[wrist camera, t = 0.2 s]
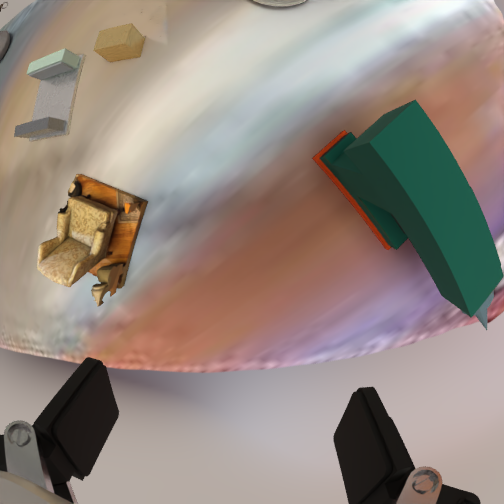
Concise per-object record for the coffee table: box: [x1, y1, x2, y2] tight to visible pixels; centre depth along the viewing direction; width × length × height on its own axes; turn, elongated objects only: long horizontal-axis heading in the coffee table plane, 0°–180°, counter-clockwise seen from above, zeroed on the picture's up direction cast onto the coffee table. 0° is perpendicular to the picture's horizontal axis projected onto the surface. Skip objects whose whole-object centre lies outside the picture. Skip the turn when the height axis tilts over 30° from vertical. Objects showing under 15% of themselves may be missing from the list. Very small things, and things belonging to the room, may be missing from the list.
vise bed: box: [14, 54, 86, 141], centre depth 31 cm, size 16×11×6 cm
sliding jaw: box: [27, 49, 80, 80], centre depth 29 cm, size 3×10×5 cm, turn 85°
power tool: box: [312, 100, 503, 330], centre depth 29 cm, size 32×7×20 cm, turn 44°
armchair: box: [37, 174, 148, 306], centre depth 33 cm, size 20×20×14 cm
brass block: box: [93, 23, 145, 62], centre depth 29 cm, size 4×6×6 cm, turn 84°
